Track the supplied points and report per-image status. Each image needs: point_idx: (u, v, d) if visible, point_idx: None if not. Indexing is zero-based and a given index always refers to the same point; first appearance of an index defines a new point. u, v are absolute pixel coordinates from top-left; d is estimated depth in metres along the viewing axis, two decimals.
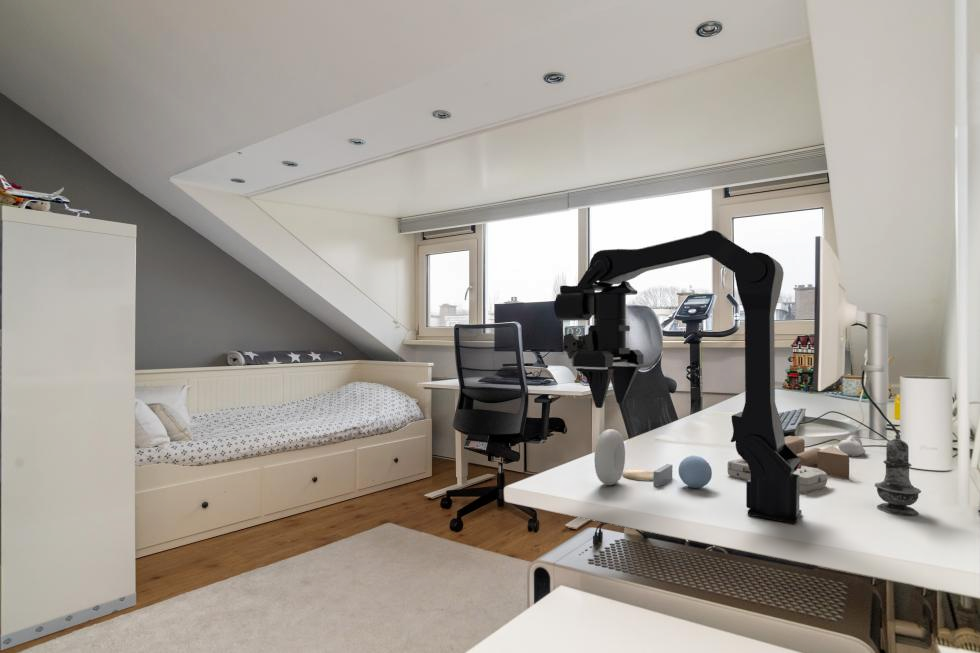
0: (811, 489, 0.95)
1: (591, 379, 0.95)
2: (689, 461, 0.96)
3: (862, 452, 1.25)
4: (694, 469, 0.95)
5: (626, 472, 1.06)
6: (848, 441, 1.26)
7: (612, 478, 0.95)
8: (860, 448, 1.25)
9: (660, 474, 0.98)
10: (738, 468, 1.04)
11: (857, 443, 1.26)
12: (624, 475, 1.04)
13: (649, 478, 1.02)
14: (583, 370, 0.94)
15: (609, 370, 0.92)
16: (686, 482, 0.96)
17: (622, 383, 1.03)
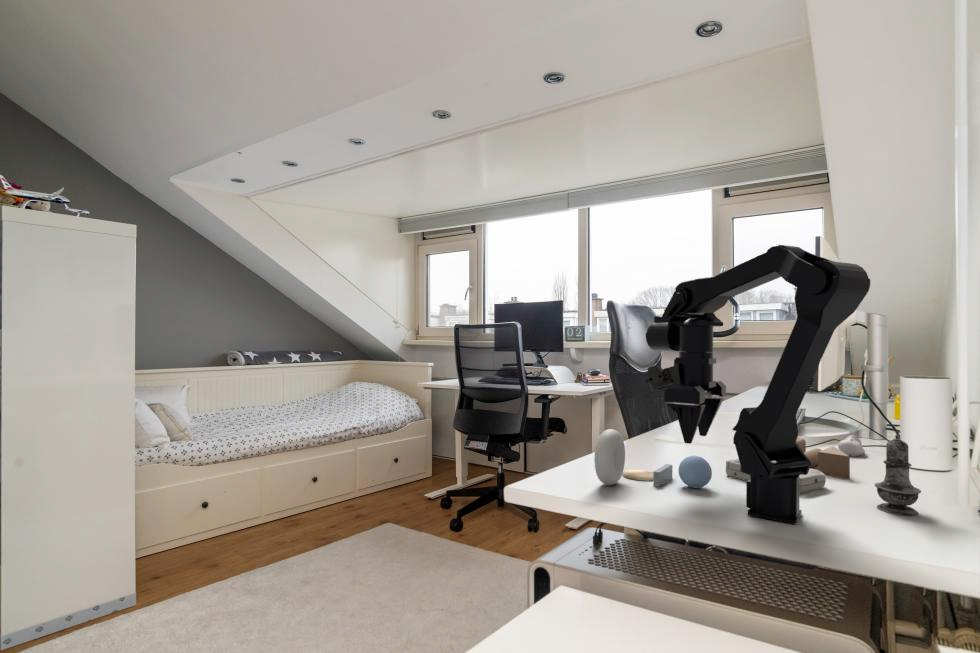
0: (806, 490, 0.95)
1: (681, 414, 0.93)
2: (689, 461, 0.96)
3: (862, 452, 1.25)
4: (694, 469, 0.95)
5: (626, 472, 1.06)
6: (848, 441, 1.26)
7: (612, 478, 0.95)
8: (860, 448, 1.25)
9: (660, 474, 0.98)
10: (736, 468, 1.04)
11: (857, 443, 1.26)
12: (624, 475, 1.04)
13: (649, 478, 1.02)
14: (674, 405, 0.92)
15: (702, 406, 0.90)
16: (686, 482, 0.96)
17: (705, 415, 1.01)
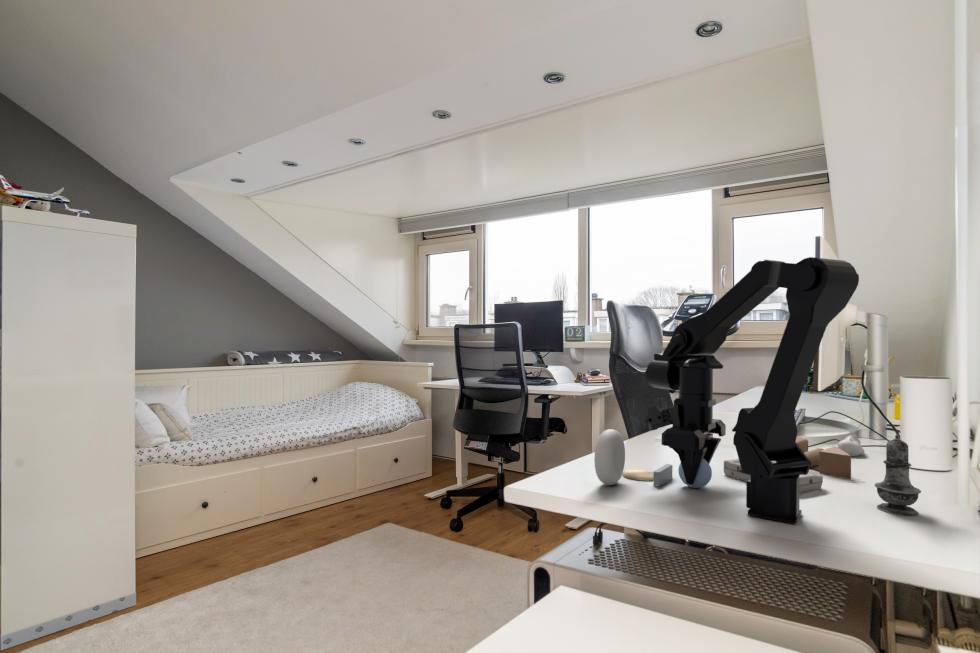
0: (800, 490, 0.94)
1: (683, 455, 0.94)
2: None
3: (861, 452, 1.25)
4: None
5: (626, 472, 1.06)
6: (847, 441, 1.26)
7: (612, 478, 0.95)
8: (859, 448, 1.25)
9: (660, 474, 0.98)
10: (733, 467, 1.04)
11: (856, 443, 1.26)
12: (624, 475, 1.04)
13: (649, 478, 1.02)
14: (676, 447, 0.93)
15: (704, 449, 0.91)
16: None
17: None
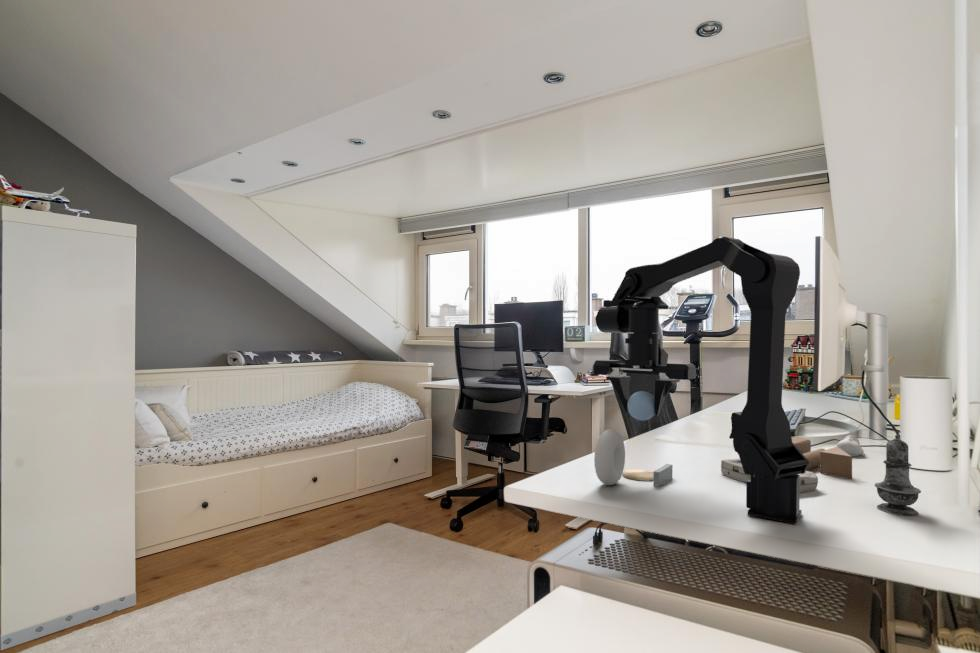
0: None
1: None
2: None
3: (860, 452, 1.25)
4: None
5: (626, 472, 1.06)
6: (847, 441, 1.26)
7: (612, 478, 0.95)
8: (859, 448, 1.25)
9: (660, 474, 0.98)
10: (729, 467, 1.05)
11: (856, 443, 1.26)
12: (624, 475, 1.04)
13: (649, 478, 1.02)
14: None
15: (610, 378, 1.05)
16: None
17: None
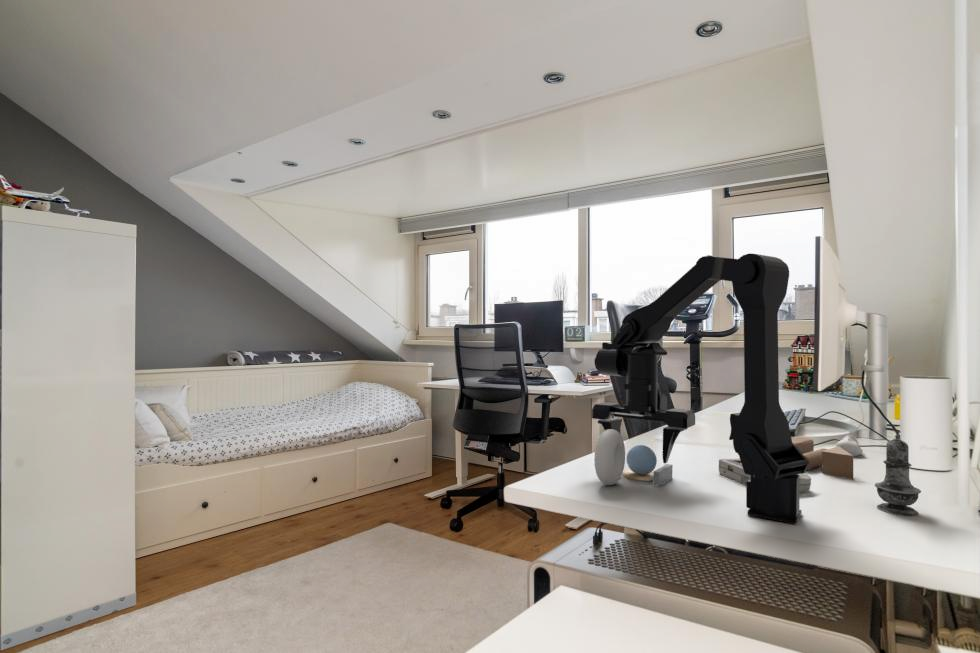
0: None
1: None
2: None
3: (860, 452, 1.25)
4: None
5: (626, 472, 1.06)
6: (846, 441, 1.26)
7: (612, 478, 0.95)
8: (858, 448, 1.25)
9: (660, 474, 0.98)
10: (725, 466, 1.05)
11: (855, 443, 1.26)
12: (624, 475, 1.04)
13: (649, 478, 1.02)
14: None
15: (602, 422, 1.06)
16: None
17: None
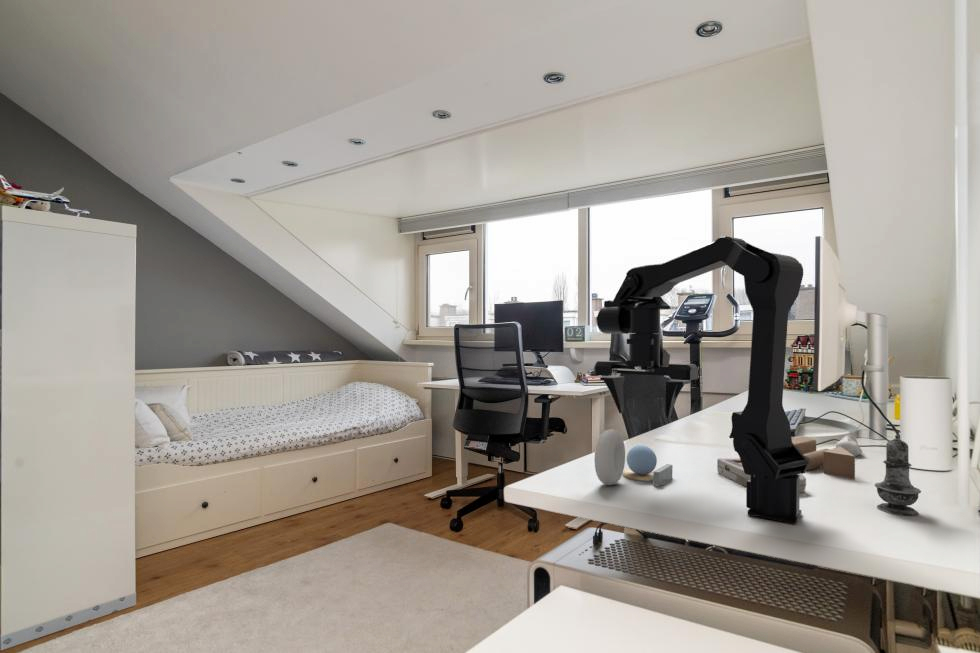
0: None
1: None
2: None
3: (859, 452, 1.25)
4: None
5: (626, 472, 1.06)
6: (846, 441, 1.26)
7: (612, 478, 0.95)
8: (858, 448, 1.25)
9: (660, 474, 0.98)
10: (722, 465, 1.06)
11: (854, 443, 1.26)
12: (624, 475, 1.04)
13: (649, 478, 1.02)
14: None
15: (604, 378, 1.06)
16: None
17: None
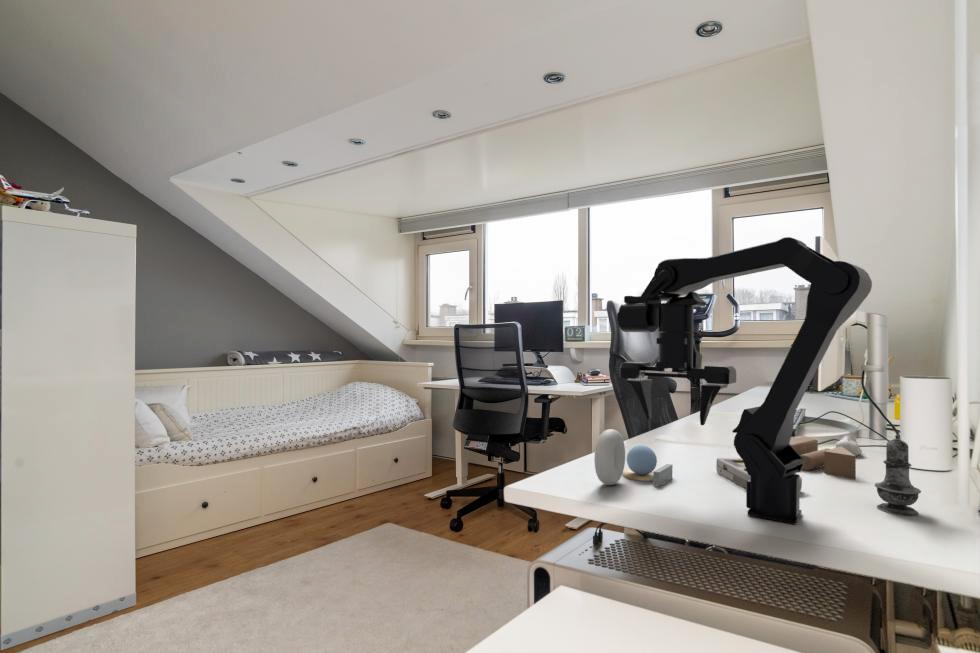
0: None
1: None
2: None
3: (859, 452, 1.25)
4: None
5: (626, 472, 1.06)
6: (846, 441, 1.26)
7: (612, 478, 0.95)
8: (857, 448, 1.25)
9: (660, 474, 0.98)
10: (721, 465, 1.06)
11: (854, 443, 1.26)
12: (624, 475, 1.04)
13: (649, 478, 1.02)
14: None
15: (631, 381, 0.96)
16: None
17: None
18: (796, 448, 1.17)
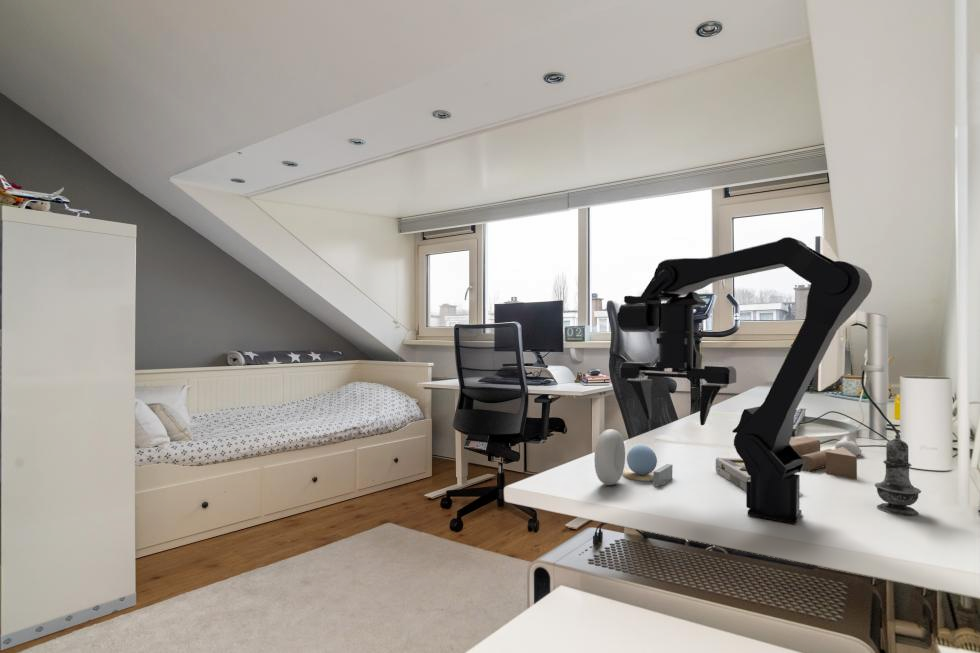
0: None
1: None
2: None
3: (859, 452, 1.25)
4: (628, 453, 1.05)
5: (626, 472, 1.06)
6: (845, 441, 1.26)
7: (612, 478, 0.95)
8: (857, 448, 1.25)
9: (660, 474, 0.98)
10: (719, 465, 1.06)
11: (854, 443, 1.26)
12: (624, 475, 1.04)
13: (649, 478, 1.02)
14: None
15: (631, 381, 0.96)
16: None
17: None
18: (798, 448, 1.16)
